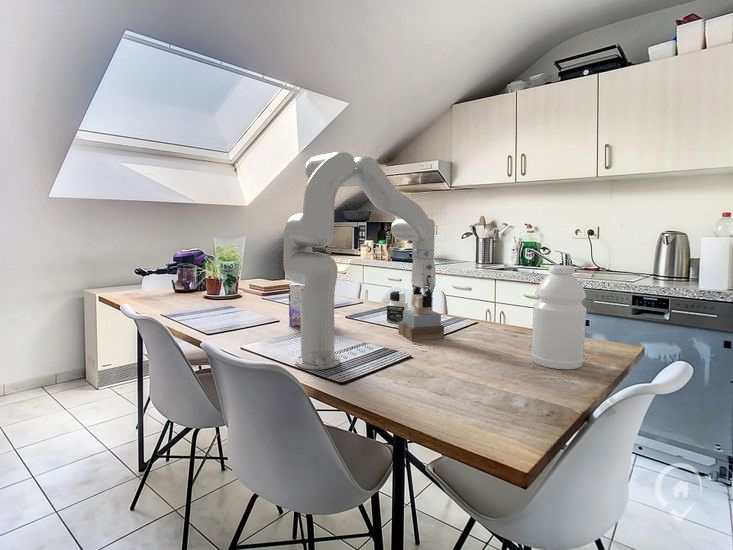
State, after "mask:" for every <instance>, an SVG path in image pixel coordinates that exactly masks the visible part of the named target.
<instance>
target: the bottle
mask: <svg viewBox="0 0 733 550" xmlns="http://www.w3.org/2000/svg"><path fill="white" fill-rule="evenodd" d="M548 272H549V274H548V275H546V276H545V277H544V278H543V279H542V281H540V283H539V284H538V286H537V288H536V291H535V292H534V293H535V296H537V298H538V300H537V302H535V303H534V304H533V307H532V308H533V309H532V311H533V312H532V331H531V332H532V333H531V336H532V337H531V351H530V358H531V362H533V363H535V364H537V365H538V366H542V367H545V368H550V369H556V370H575V369H579V368H581V367H582V366H583V363H584V360H585V359H584V349H585V348H584V347H585V339H586V338H585V335H586V324H587V323H586V322H587V320H586V319H587V311H588V309H587V308H586V307H585V306H584V305H583V301H584V300H585V299H586V298H587V294H586V291H585V288H584V286H583V285H582V283H581V282H580V280H578V278H576V276H575V275H574V274H575V272H576V270H575V267H574V266H572V265H558V264H555V265H554V264H553V265H549V266H548Z"/></svg>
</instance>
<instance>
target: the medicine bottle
mask: <svg viewBox="0 0 733 550" xmlns="http://www.w3.org/2000/svg"><path fill="white" fill-rule="evenodd" d="M408 305H409V303H408V302H406V293H405V292H404V291H391V292H390V293H389V303H388V304H387V305H386V322H387V323H395V324H399V321H403V310H409V309H408Z"/></svg>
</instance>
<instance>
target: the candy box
mask: <svg viewBox="0 0 733 550" xmlns="http://www.w3.org/2000/svg"><path fill="white" fill-rule="evenodd" d="M303 289H304V284H299V283H295V282H292V283H290V284H288V312H289V313H288V315H289V318H288V320H289V321H288V322H289V325H288V327H292V328H296V327H299V328H301V314H300V301H301V295H302V292H303Z"/></svg>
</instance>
